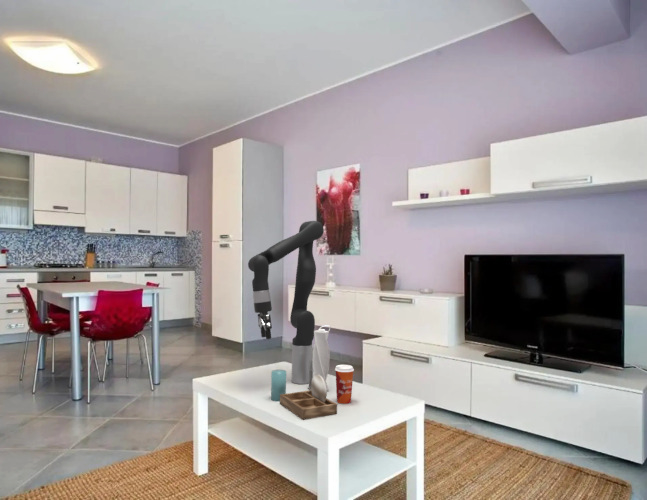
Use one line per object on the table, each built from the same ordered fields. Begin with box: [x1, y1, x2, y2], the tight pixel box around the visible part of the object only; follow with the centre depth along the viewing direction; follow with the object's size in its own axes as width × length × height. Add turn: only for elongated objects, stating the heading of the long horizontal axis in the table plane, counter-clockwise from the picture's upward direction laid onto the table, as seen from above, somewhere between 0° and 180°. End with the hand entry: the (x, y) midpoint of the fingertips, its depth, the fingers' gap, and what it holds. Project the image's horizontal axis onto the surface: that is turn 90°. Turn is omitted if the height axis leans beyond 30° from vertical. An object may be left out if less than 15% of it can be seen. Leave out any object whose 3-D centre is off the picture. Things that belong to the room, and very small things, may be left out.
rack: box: [279, 375, 338, 421], centre depth 168 cm, size 14×20×12 cm
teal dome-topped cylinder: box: [270, 369, 287, 402], centre depth 179 cm, size 6×6×11 cm
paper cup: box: [334, 364, 355, 405], centre depth 177 cm, size 8×8×14 cm
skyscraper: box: [307, 324, 332, 393], centre depth 193 cm, size 8×8×28 cm
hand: (266, 337), depth 193 cm, fingers open, 8 cm apart
